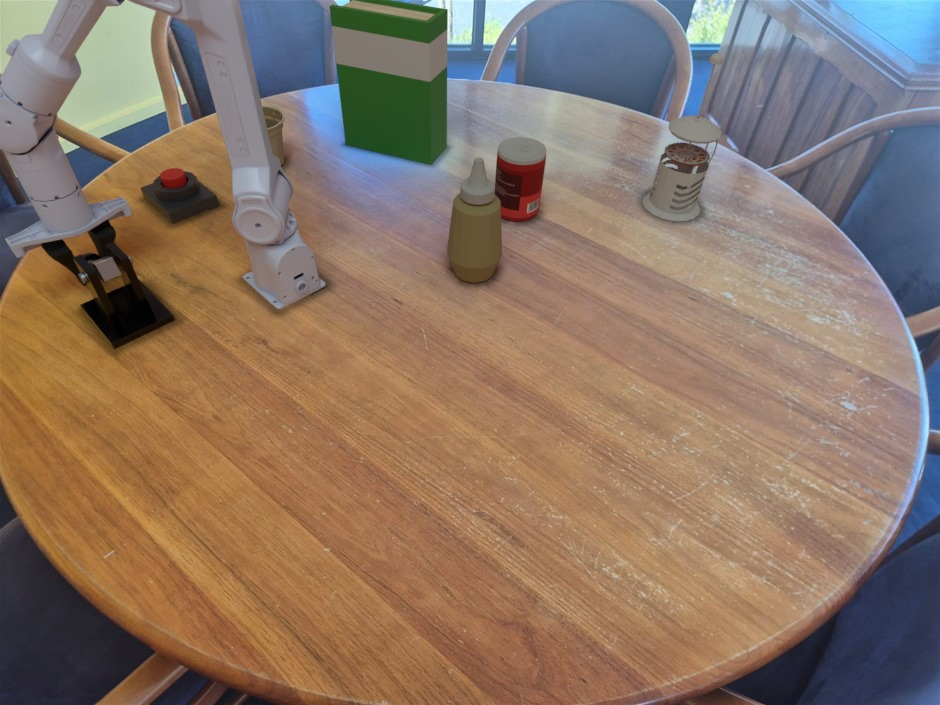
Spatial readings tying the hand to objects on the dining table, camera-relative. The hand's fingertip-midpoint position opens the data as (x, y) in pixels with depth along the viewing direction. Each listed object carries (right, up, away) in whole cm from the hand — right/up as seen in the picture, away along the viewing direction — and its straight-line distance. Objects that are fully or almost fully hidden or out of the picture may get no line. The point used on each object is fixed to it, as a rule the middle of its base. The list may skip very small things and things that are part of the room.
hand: (97, 276), depth 86 cm
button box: (+4, +14, +16) cm, 22 cm away
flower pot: (+15, +23, +26) cm, 38 cm away
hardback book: (+38, +29, +32) cm, 57 cm away
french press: (+87, +15, +21) cm, 91 cm away
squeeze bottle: (+52, +1, +6) cm, 53 cm away
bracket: (+6, -6, -3) cm, 9 cm away
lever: (+4, -1, -4) cm, 6 cm away
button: (+4, +17, +13) cm, 22 cm away
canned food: (+59, +13, +18) cm, 63 cm away
